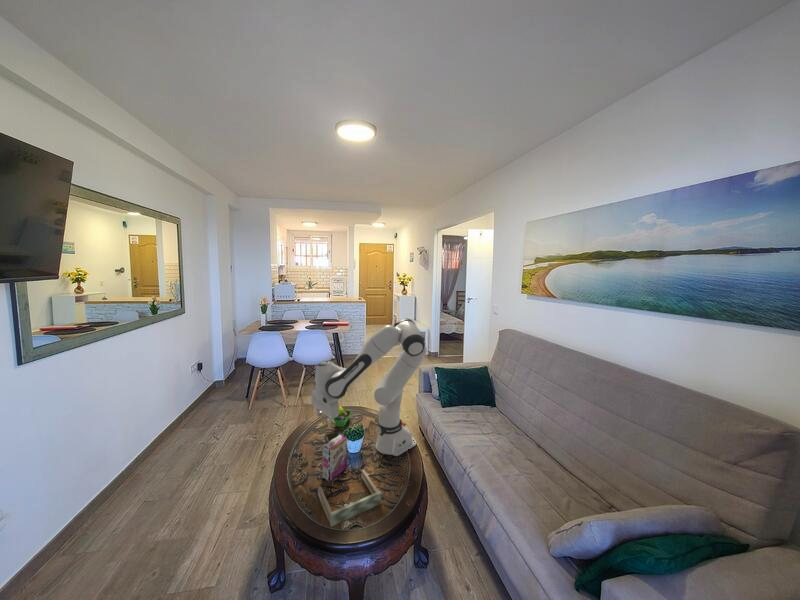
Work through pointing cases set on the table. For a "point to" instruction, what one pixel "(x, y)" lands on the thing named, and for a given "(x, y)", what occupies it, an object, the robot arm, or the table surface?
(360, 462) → the table surface
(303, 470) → the table surface
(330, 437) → the phone
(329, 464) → the candy bar box
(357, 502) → the dock
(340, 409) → the fruit basket
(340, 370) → the robot arm
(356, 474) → the table surface
